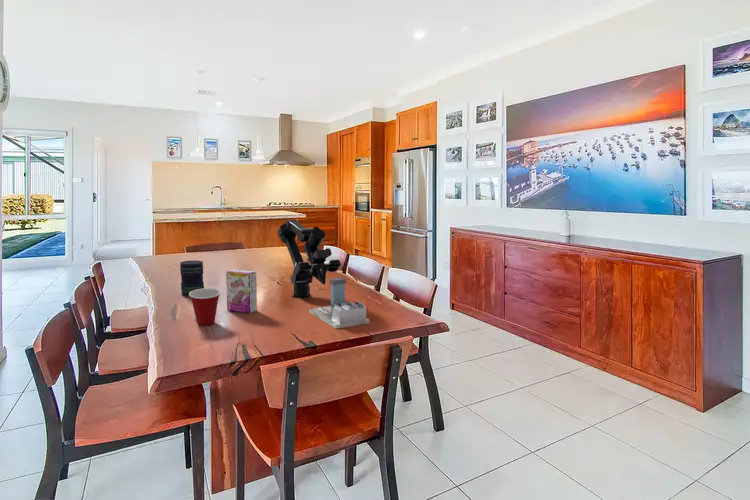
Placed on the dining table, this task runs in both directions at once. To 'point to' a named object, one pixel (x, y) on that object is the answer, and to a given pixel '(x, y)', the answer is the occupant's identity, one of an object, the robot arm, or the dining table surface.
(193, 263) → the storage jar
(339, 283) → the light blue bar
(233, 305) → the candy bar box
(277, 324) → the dining table surface
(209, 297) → the plastic cup
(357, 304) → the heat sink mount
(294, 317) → the dining table surface
